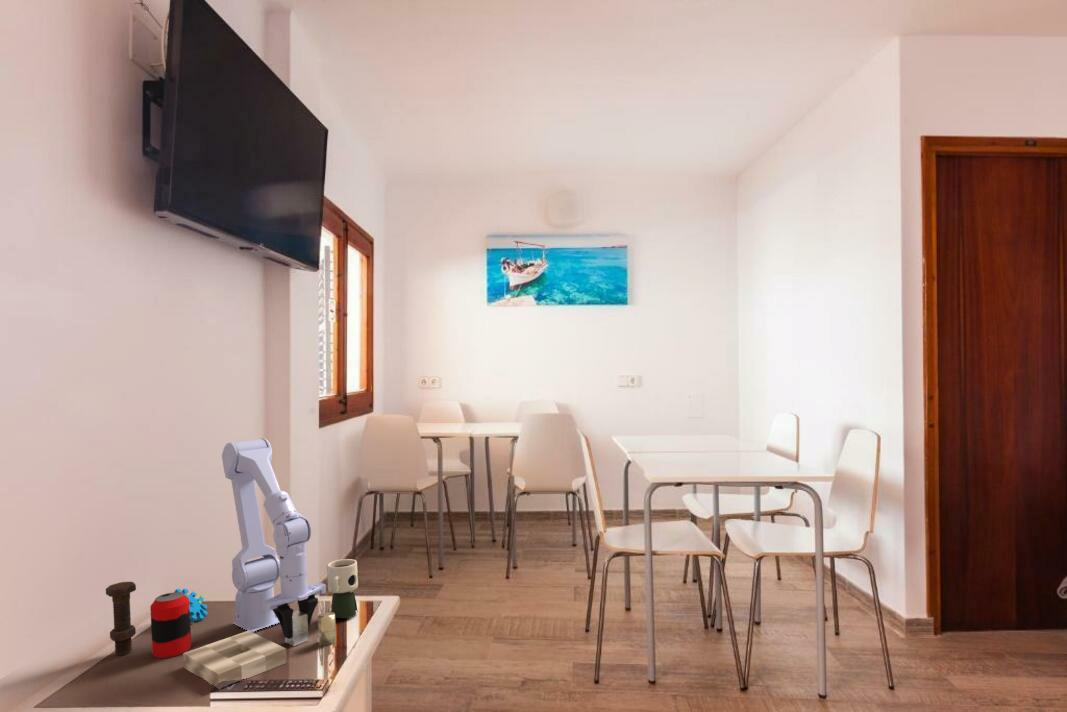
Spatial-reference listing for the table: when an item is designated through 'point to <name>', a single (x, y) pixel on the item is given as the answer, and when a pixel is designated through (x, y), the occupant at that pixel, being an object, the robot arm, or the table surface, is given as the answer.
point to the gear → (195, 605)
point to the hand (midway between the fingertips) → (296, 634)
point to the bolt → (122, 616)
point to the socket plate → (234, 658)
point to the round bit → (327, 628)
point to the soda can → (170, 625)
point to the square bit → (298, 628)
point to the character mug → (343, 587)
